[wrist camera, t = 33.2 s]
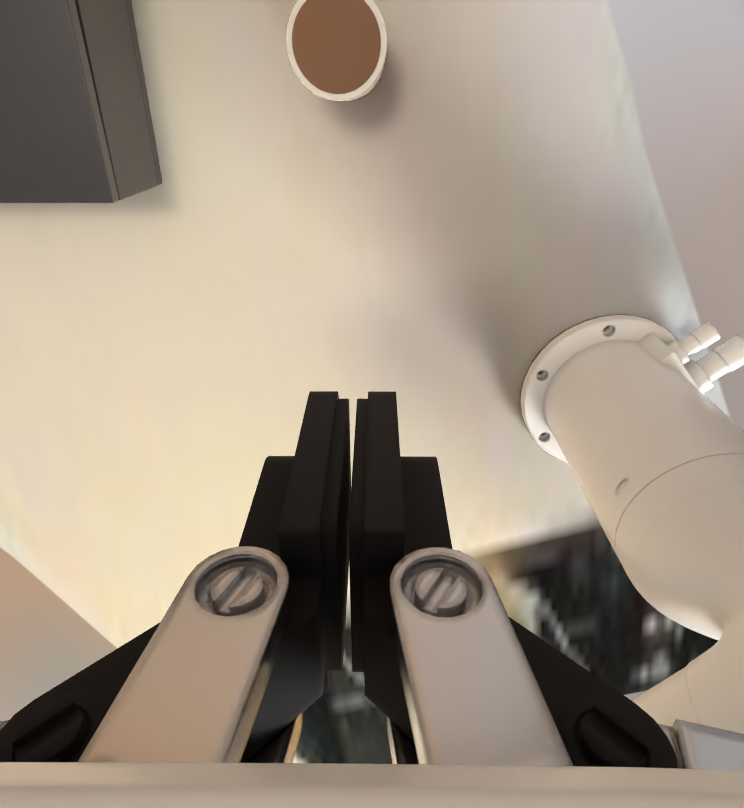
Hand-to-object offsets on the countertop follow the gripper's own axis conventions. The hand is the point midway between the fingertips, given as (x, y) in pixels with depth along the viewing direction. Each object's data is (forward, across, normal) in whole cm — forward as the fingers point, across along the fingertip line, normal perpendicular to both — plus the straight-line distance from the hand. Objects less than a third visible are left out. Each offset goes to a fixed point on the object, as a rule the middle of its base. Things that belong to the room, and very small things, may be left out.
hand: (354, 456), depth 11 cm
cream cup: (+29, +1, -8) cm, 30 cm away
